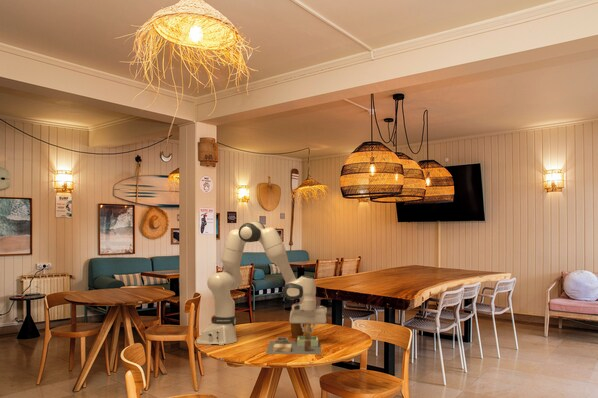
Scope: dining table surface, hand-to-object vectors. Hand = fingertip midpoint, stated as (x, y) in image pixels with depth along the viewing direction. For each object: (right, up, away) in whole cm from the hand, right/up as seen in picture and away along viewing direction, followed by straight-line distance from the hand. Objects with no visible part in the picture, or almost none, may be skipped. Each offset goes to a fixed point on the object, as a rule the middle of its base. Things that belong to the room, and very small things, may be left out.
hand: (307, 331), depth 250 cm
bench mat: (-7, -7, -6) cm, 12 cm away
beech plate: (-13, -6, -12) cm, 19 cm away
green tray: (0, -7, 0) cm, 7 cm away
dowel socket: (-14, -7, 0) cm, 16 cm away
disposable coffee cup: (-6, -9, +17) cm, 20 cm away
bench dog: (0, -6, -12) cm, 14 cm away
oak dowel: (0, -4, 0) cm, 4 cm away
